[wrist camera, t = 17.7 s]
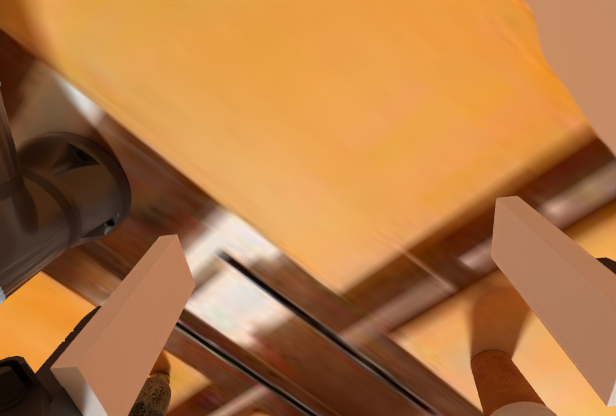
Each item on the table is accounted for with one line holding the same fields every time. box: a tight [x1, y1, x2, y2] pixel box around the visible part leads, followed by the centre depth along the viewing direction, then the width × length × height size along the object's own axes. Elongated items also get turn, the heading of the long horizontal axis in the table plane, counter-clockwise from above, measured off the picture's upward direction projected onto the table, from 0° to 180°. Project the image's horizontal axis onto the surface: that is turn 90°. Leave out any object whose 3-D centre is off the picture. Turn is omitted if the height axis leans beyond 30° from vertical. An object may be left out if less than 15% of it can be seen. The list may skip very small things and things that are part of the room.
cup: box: [128, 371, 171, 416], centre depth 60 cm, size 8×7×8 cm
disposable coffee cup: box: [471, 350, 557, 416], centre depth 52 cm, size 10×10×12 cm
